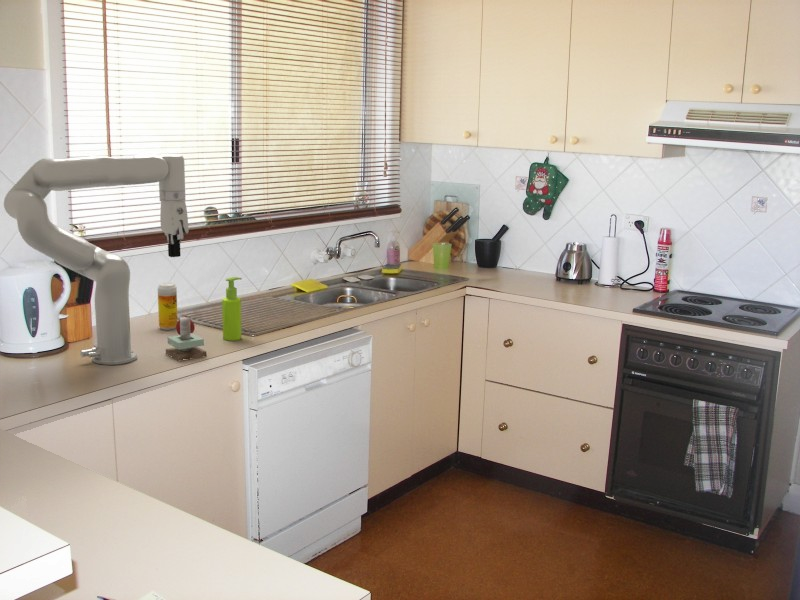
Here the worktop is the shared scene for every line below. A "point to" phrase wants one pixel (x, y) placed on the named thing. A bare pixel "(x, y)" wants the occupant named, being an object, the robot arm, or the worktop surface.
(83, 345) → the worktop surface
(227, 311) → the soap dispenser
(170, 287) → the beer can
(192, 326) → the onion
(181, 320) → the post stand
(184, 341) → the collar
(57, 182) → the robot arm
